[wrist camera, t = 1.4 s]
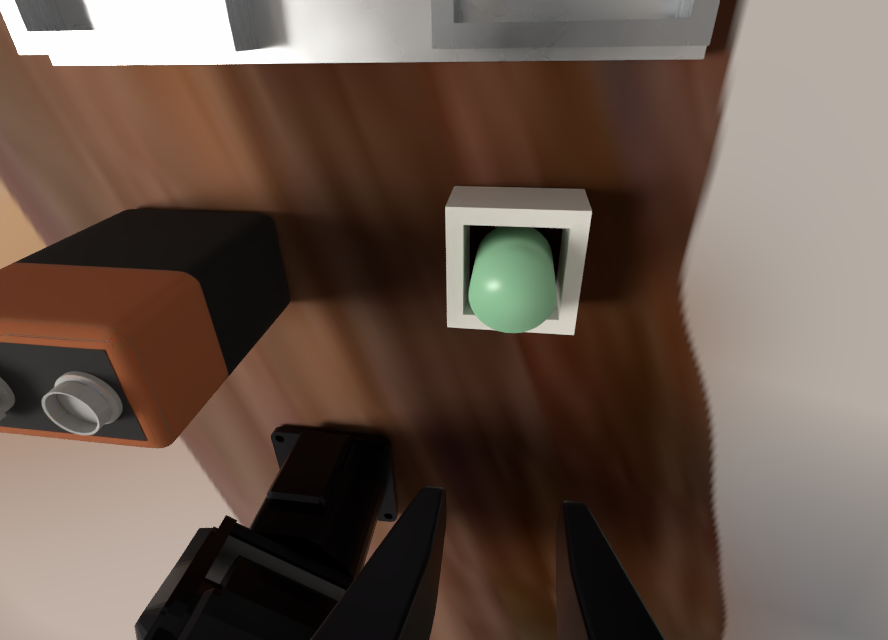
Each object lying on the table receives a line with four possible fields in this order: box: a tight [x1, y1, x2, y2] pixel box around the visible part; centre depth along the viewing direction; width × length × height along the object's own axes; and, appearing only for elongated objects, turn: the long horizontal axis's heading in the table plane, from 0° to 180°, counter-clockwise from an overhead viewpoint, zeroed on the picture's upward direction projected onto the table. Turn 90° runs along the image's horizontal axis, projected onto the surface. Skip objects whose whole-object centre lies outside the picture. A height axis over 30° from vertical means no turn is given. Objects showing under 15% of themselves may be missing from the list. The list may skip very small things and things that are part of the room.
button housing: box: [445, 186, 592, 335], centre depth 18 cm, size 5×5×2 cm
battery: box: [0, 209, 290, 448], centre depth 17 cm, size 4×7×10 cm, turn 91°
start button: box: [469, 226, 557, 333], centre depth 17 cm, size 3×3×3 cm
